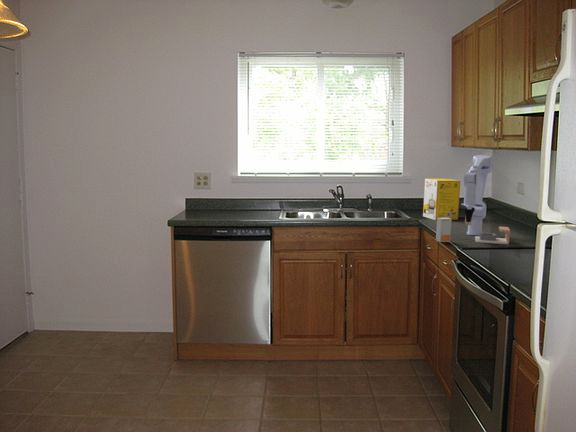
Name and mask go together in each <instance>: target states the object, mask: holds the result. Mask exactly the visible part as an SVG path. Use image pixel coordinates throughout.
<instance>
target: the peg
mask: <svg viewBox="0 0 576 432" xmlns="http://www.w3.org/2000/svg"><path fill="white" fill-rule="evenodd" d="M464 215H465V214H464ZM464 217H465V219H464V225H465V226H468V225H471V222H472V219H471V222H466V215H465V216H464Z"/></svg>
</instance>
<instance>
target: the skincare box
mask: <svg viewBox="0 0 576 432" xmlns="http://www.w3.org/2000/svg"><path fill="white" fill-rule="evenodd" d="M435 229H436V230H435V233H436V235H435V241H436V242H438V243H451V234H452V233H451V232H452V231H451V230H452V219H451V218H437V220H436V228H435Z"/></svg>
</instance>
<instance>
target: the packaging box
mask: <svg viewBox="0 0 576 432" xmlns="http://www.w3.org/2000/svg"><path fill="white" fill-rule="evenodd" d="M460 190H461V180H458V179H452V178H424V192H423V193H424V194H423V209H422V217H425V218H427V219H430V220H433V221H437V218H451V219H452V220H453V221H455V220H458V219H459V207H460Z"/></svg>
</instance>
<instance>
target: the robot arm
mask: <svg viewBox="0 0 576 432" xmlns="http://www.w3.org/2000/svg"><path fill="white" fill-rule="evenodd" d="M493 163H494V157H493V155H484V154H483V155H479V154H474V156H473V157H472V166H471V167H470V168H469V170H468V171H467V172H466V173H464V176H463V183H464V184H463V186H464V196H463V203H461V204H460V205H461V206H464V207H463V211H464V215H466V222H471V219H472V222H471V225H467V230H466V236H467V235H468V236H480V233H483V229H482V228H483V219H485V218H486V216H487V204H486V203H485V202H484V201H483V198H484V193H485V189H486V188H485V187H486V182H487V178H488V174H489V173H491V172H492V169H493Z"/></svg>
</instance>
